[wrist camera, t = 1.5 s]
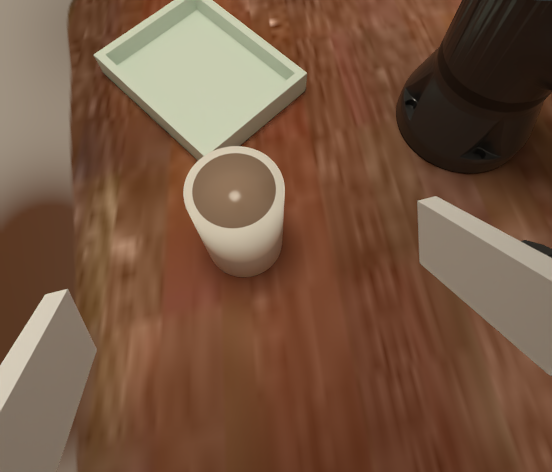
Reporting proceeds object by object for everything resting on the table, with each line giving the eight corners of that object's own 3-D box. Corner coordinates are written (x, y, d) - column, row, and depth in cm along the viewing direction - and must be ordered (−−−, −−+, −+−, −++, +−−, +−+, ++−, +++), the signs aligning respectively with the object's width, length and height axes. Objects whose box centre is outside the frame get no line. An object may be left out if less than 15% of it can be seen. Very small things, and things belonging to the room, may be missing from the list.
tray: (198, 7, 55) (194, -14, 52) (305, 90, 50) (307, 73, 47) (103, 73, 51) (93, 54, 48) (209, 171, 46) (205, 157, 43)
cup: (246, 193, 45) (236, 128, 34) (297, 240, 43) (305, 189, 32) (191, 241, 43) (162, 189, 32) (243, 293, 41) (231, 257, 30)
